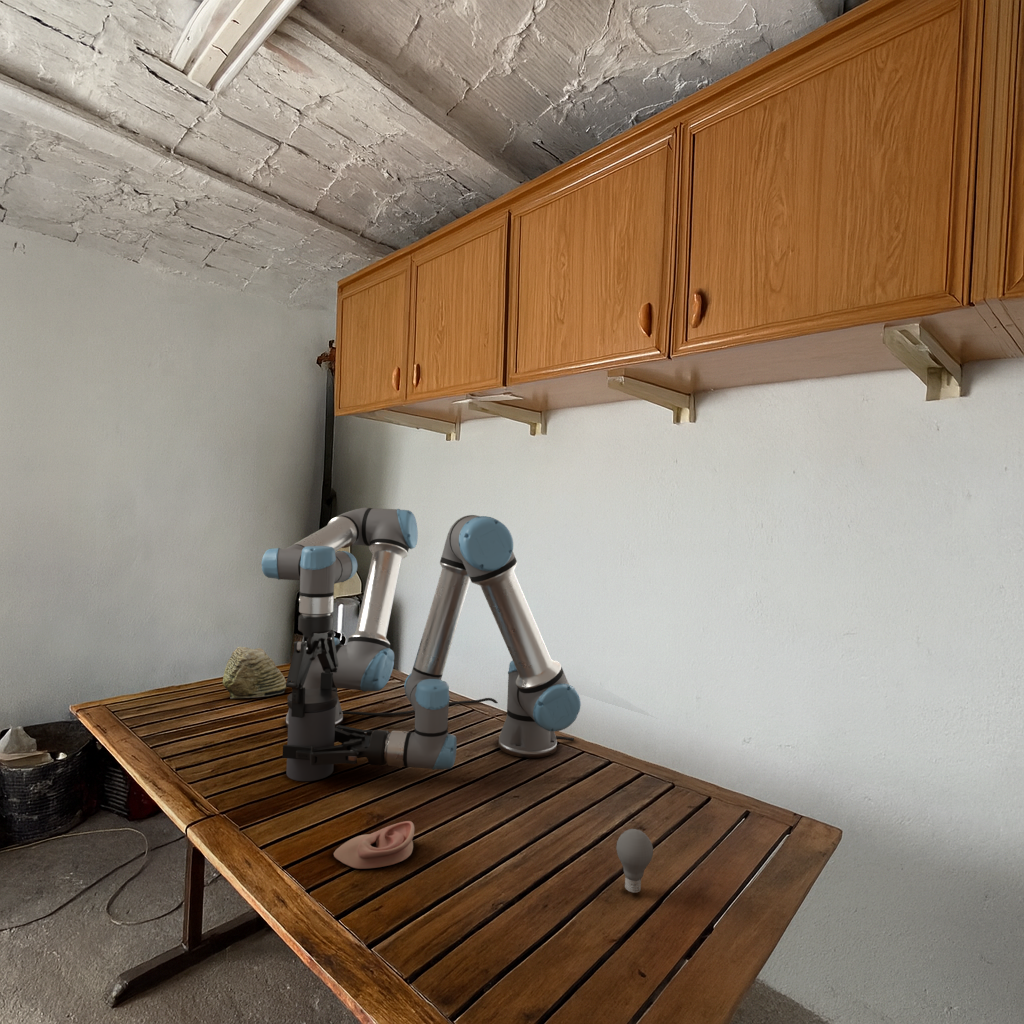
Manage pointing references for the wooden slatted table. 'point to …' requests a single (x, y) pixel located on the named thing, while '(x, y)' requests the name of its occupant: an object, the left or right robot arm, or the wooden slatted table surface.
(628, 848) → the light bulb
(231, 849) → the wooden slatted table surface
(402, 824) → the anatomical model
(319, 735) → the jar
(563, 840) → the wooden slatted table surface
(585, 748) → the wooden slatted table surface
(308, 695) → the lid
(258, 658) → the fossil
